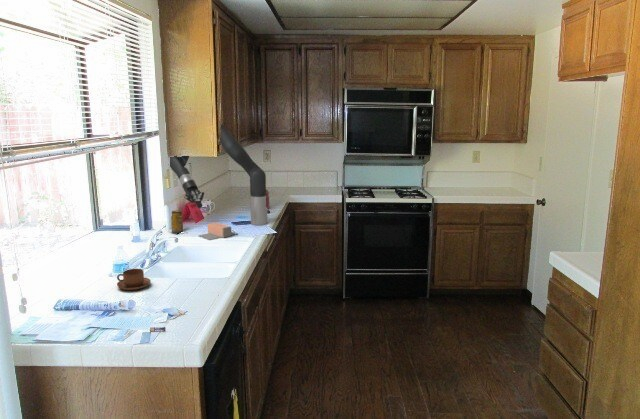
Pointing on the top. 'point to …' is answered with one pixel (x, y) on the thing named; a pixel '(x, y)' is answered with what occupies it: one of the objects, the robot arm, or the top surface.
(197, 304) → the top surface
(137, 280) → the cup and saucer
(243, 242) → the top surface
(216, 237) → the mat
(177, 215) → the condiment
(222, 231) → the block
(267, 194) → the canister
